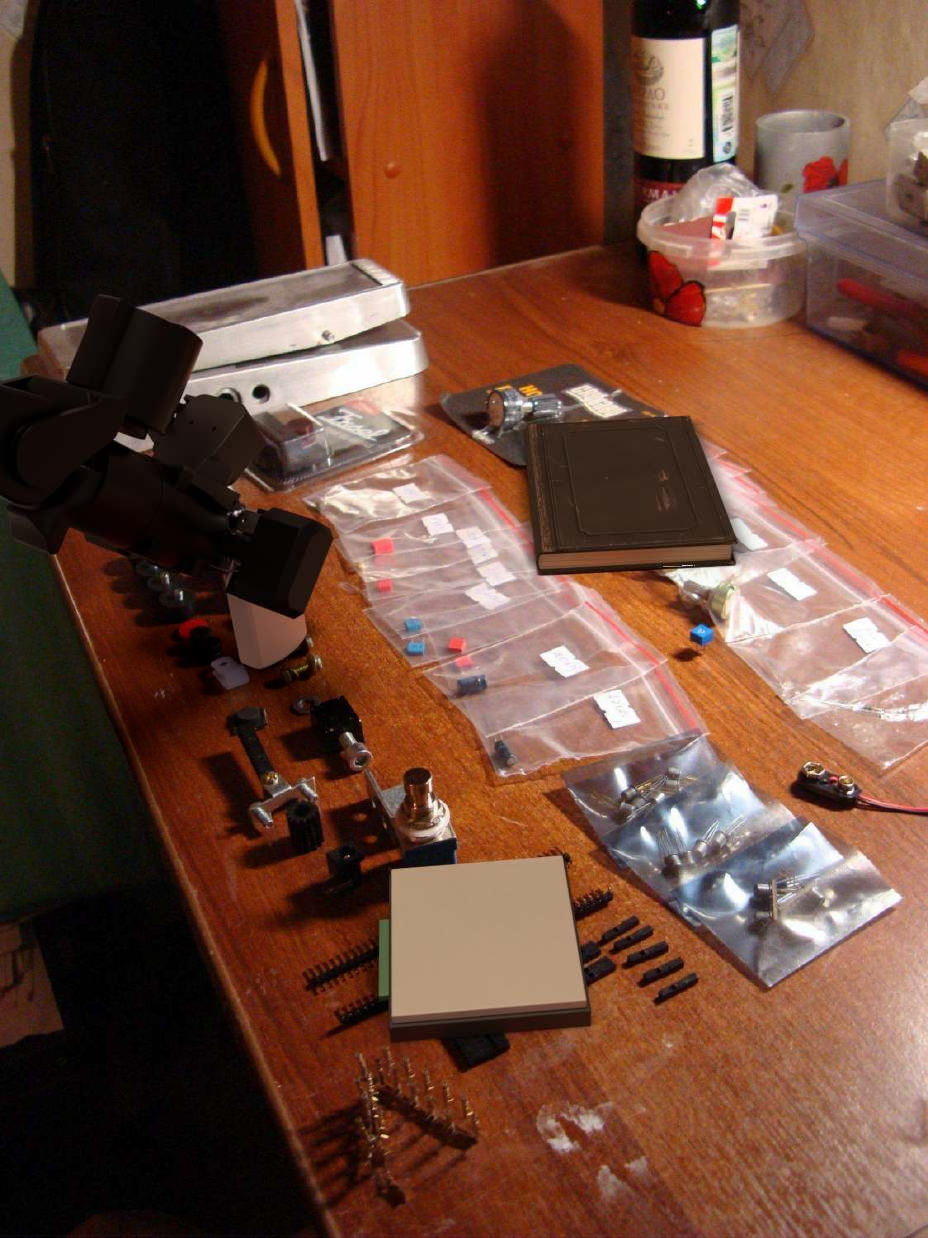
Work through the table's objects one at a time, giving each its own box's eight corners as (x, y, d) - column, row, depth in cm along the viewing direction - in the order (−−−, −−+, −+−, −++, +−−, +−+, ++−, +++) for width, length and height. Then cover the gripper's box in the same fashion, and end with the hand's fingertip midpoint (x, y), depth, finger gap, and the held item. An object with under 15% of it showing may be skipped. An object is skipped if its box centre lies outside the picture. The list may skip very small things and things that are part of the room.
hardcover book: (688, 436, 111) (690, 414, 110) (735, 564, 92) (737, 540, 91) (523, 446, 112) (522, 424, 110) (536, 575, 93) (536, 551, 91)
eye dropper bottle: (321, 654, 85) (299, 513, 78) (249, 679, 83) (220, 536, 76) (299, 626, 88) (277, 487, 81) (230, 649, 86) (200, 509, 79)
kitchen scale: (381, 1058, 58) (375, 1021, 56) (382, 903, 66) (376, 867, 64) (590, 1040, 58) (591, 1003, 56) (566, 888, 66) (565, 852, 64)
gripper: (291, 405, 65) (420, 495, 79) (73, 350, 74) (222, 438, 88) (218, 588, 64) (361, 646, 78) (7, 509, 73) (168, 574, 87)
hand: (274, 568), depth 83 cm, fingers closed on eye dropper bottle, 3 cm apart
